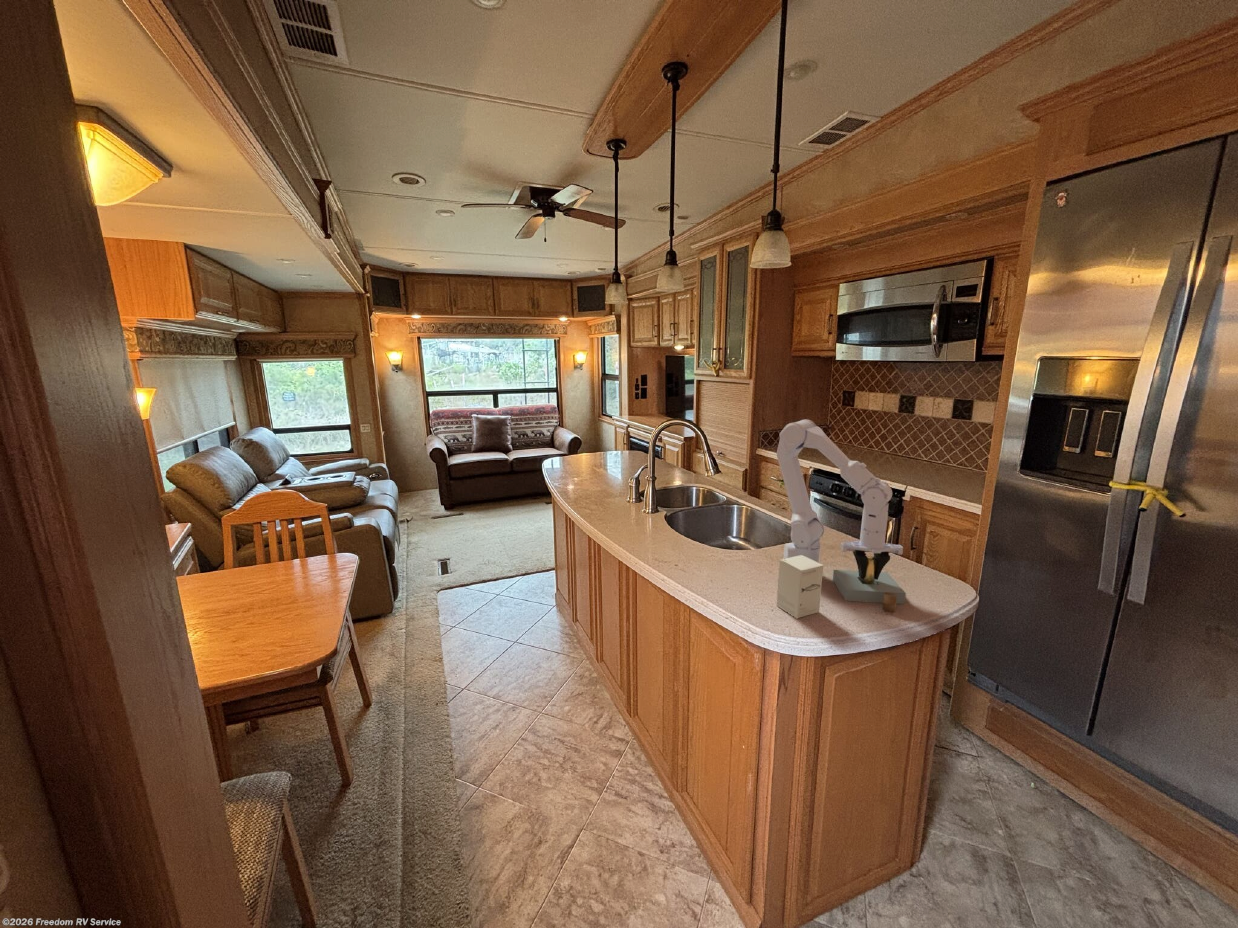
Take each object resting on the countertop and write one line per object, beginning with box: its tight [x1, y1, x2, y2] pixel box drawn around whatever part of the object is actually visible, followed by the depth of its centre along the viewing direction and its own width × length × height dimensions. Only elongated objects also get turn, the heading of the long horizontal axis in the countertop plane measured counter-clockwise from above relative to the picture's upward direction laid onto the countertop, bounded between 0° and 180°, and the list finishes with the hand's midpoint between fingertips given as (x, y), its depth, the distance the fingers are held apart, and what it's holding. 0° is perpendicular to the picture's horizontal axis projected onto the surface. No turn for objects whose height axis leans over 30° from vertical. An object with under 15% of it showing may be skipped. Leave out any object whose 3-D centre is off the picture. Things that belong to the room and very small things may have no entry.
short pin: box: [881, 592, 897, 614], centre depth 119 cm, size 3×3×4 cm
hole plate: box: [832, 569, 907, 605], centre depth 129 cm, size 14×12×3 cm
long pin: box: [862, 555, 877, 585], centre depth 128 cm, size 3×3×9 cm
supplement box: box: [776, 555, 824, 619], centre depth 119 cm, size 7×7×13 cm
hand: (868, 577), depth 128 cm, fingers closed on long pin, 3 cm apart
